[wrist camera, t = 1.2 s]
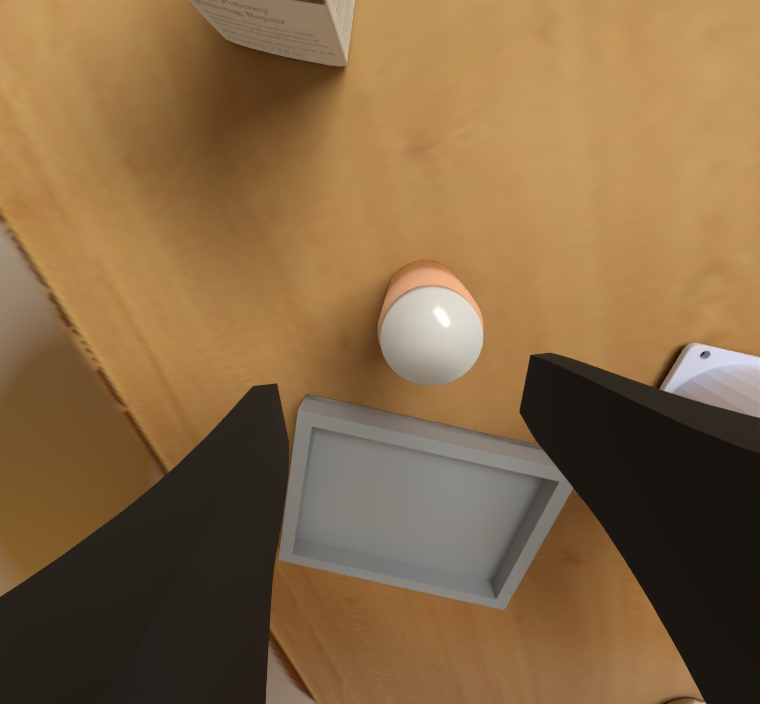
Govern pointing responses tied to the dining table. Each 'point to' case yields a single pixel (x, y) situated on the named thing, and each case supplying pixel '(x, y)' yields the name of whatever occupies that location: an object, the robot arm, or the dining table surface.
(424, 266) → the shaker
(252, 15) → the skincare box
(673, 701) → the pastry
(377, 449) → the tray
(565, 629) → the dining table surface
